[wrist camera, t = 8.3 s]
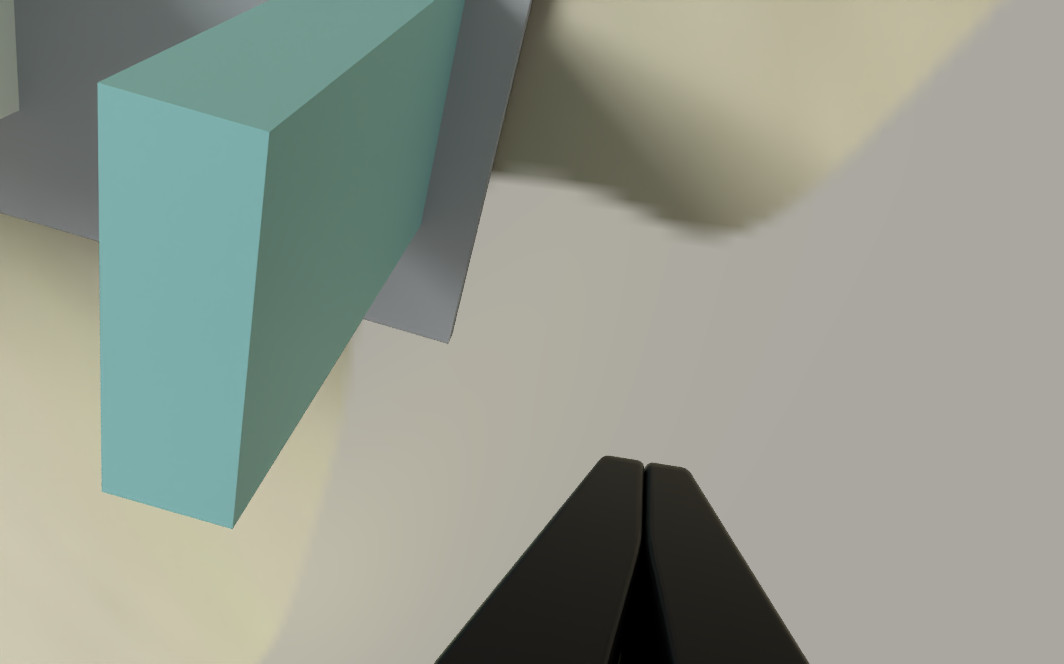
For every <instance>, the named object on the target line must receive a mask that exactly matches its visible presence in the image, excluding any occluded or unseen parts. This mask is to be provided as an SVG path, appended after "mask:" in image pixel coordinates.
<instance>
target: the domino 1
mask: <svg viewBox="0 0 1064 664" xmlns="http://www.w3.org/2000/svg"><path fill="white" fill-rule="evenodd" d="M17 111H19V92H18V73H17V53H16V34H15V15H14V0H0V119H2V118H4V117H6V116H8V115H11V114H13V113H15V112H17Z"/></svg>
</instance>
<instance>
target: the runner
mask: <svg viewBox="0 0 1064 664" xmlns="http://www.w3.org/2000/svg"><path fill="white" fill-rule="evenodd" d="M267 1H269V0H14V15H15V34H16V53H17V73H18V92H19V111H17V112H15V113H13V114H11V115H8V116H6V117H4V118H2V119H0V213H3V214H6V215H10V216H13V217H16V218H20V219H23V220H27V221H30V222H34V223H37V224H40V225H44V226H47V227H51V228H54V229H58V230H61V231H64V232H68V233H71V234H75V235H78V236H81V237H85V238H88V239H92V240H95V241H99V182H98V89H97V83H98V82H100V81H102V80H104V79H106V78H108V77H110V76H112V75H114V74H116V73H118V72H121V71H123V70H125V69H127V68H129V67H131V66H133V65H135V64H137V63H139V62H141V61H144V60H146V59H148V58H150V57H152V56H154V55H156V54H158V53H160V52H162V51H164V50H166V49H169V48H171V47H173V46H175V45H177V44H179V43H181V42H183V41H185V40H187V39H189V38H192V37H194V36H196V35H198V34H200V33H202V32H204V31H206V30H208V29H210V28H212V27H214V26H217V25H219V24H221V23H223V22H225V21H227V20H229V19H231V18H233V17H235V16H237V15H240V14H242V13H244V12H246V11H248V10H250V9H252V8H254V7H256V6H258V5H260V4H263V3H265V2H267ZM531 5H532V0H465V3H464V8H463V13H462V18H461V23H460V28H459V33H458V38H457V43H456V48H455V54H454V59H453V64H452V69H451V74H450V79H449V84H448V89H447V94H446V99H445V104H444V110H443V115H442V120H441V125H440V130H439V135H438V140H437V145H436V150H435V155H434V161H433V166H432V171H431V176H430V181H429V186H428V191H427V196H426V201H425V206H424V211H423V217H422V222H421V226H420V227H419V229H418V231H417V232H416V234H415V235H414V237H413V239H412V240H411V242H410V244H409V245H408V247H407V248H406V250H405V252H404V253H403V255H402V256H401V258H400V260H399V261H398V263H397V264H396V266H395V268H394V269H393V271H392V273H391V274H390V276H389V277H388V279H387V281H386V282H385V284H384V285H383V287H382V289H381V290H380V292H379V294H378V295H377V297H376V298H375V300H374V302H373V303H372V305H371V306H370V308H369V310H368V311H367V313H366V314H365V316H364V318H363V319H365V320H369V321H372V322H375V323H379V324H382V325H386V326H389V327H392V328H396V329H399V330H403V331H406V332H410V333H414V334H416V335H420V336H423V337H427V338H430V339H434V340H437V341H440V342H444V343H447V344H448V343H449V341H450V338H451V336H452V333H453V329H454V325H455V321H456V316H457V312H458V308H459V304H460V300H461V296H462V292H463V287H464V283H465V279H466V275H467V271H468V266H469V262H470V258H471V254H472V250H473V246H474V242H475V237H476V233H477V229H478V225H479V221H480V216H481V212H482V208H483V204H484V200H485V196H486V192H487V188H488V183H489V179H490V175H491V171H492V167H493V163H494V158H495V154H496V150H497V146H498V142H499V138H500V134H501V129H502V125H503V121H504V117H505V113H506V109H507V104H508V100H509V96H510V92H511V88H512V84H513V79H514V75H515V71H516V67H517V63H518V59H519V55H520V50H521V46H522V42H523V38H524V34H525V30H526V25H527V21H528V17H529V13H530V9H531Z"/></svg>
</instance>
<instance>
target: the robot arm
mask: <svg viewBox="0 0 1064 664" xmlns="http://www.w3.org/2000/svg"><path fill="white" fill-rule="evenodd" d="M434 664H809V663H808V661H807V659H806V658H805V656H804V654H803V653H802V651H801V650H800V648H799V647H798V645H797V643H796V642H795V640H794V638H793V637H792V635H791V634H790V632H789V630H788V629H787V627H786V625H785V624H784V622H783V621H782V619H781V617H780V616H779V614H778V613H777V611H776V609H775V608H774V606H773V605H772V603H771V602H770V600H769V598H768V597H767V595H766V593H765V592H764V590H763V589H762V587H761V585H760V584H759V582H758V580H757V579H756V577H755V576H754V574H753V572H752V571H751V569H750V568H749V566H748V565H747V563H746V561H745V560H744V558H743V557H742V555H741V553H740V552H739V550H738V548H737V547H736V545H735V544H734V542H733V541H732V539H731V537H730V536H729V534H728V532H727V531H726V530H725V527H724V526H723V524H722V523H721V521H720V519H719V518H718V516H717V515H716V513H715V511H714V510H713V508H712V507H711V505H710V503H709V502H708V500H707V499H706V497H705V495H704V494H703V492H702V491H701V489H700V487H699V486H698V484H697V483H696V481H695V479H694V478H693V476H692V475H691V473H690V472H689V471H688V470H686V469H685V468H682V467H676V466H670V465H663V464H658V463H650V464H647V466H646V467H645V469H644V466H643V463H641V462H640V461H638V460H632V459H626V458H620V457H614V456H604V457H602V458H601V459H600V460H599V461H598V462H597V464H596V465H595V466H594V467H593V469H592V470H591V471H590V472H589V473H588V475H587V476H586V477H585V478H584V480H583V481H582V482H581V483H580V485H579V486H578V487H577V488H576V489H575V491H574V492H573V493H572V494H571V496H570V497H569V498H568V499H567V500H566V502H565V503H564V504H563V505H562V507H561V508H560V509H559V510H558V512H557V513H556V514H555V515H554V516H553V518H552V519H551V520H550V521H549V523H548V524H547V525H546V526H545V528H544V529H543V530H542V531H541V532H540V534H539V535H538V536H537V538H536V539H535V540H534V541H533V542H532V544H531V545H530V546H529V547H528V548H527V550H526V551H525V552H524V553H523V555H522V556H521V557H520V558H519V560H518V561H517V562H516V563H515V564H514V566H513V567H512V568H511V569H510V571H509V572H508V573H507V574H506V575H505V577H504V578H503V579H502V580H501V582H500V583H499V584H498V585H497V586H496V588H495V589H494V590H493V591H492V593H491V594H490V595H489V596H488V598H487V599H486V600H485V601H484V602H483V604H482V605H481V606H480V607H479V609H478V610H477V611H476V612H475V613H474V615H473V616H472V617H471V618H470V620H469V621H468V622H467V623H466V624H465V626H464V627H463V628H462V629H461V631H460V632H459V633H458V634H457V636H456V637H455V638H454V639H453V640H452V642H451V643H450V644H449V645H448V647H447V648H446V649H445V650H444V652H443V653H442V654H441V655H440V656H439V658H438V659H437V660H436V661H435V663H434Z"/></svg>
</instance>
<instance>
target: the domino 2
mask: <svg viewBox="0 0 1064 664" xmlns="http://www.w3.org/2000/svg"><path fill="white" fill-rule="evenodd" d="M464 3H465V0H269V1H267V2H265V3H263V4H260V5H258V6H256V7H254V8H252V9H250V10H248V11H246V12H244V13H242V14H240V15H237V16H235V17H233V18H231V19H229V20H227V21H225V22H223V23H221V24H219V25H217V26H214V27H212V28H210V29H208V30H206V31H204V32H202V33H200V34H198V35H196V36H194V37H192V38H189V39H187V40H185V41H183V42H181V43H179V44H177V45H175V46H173V47H171V48H169V49H166V50H164V51H162V52H160V53H158V54H156V55H154V56H152V57H150V58H148V59H146V60H144V61H141V62H139V63H137V64H135V65H133V66H131V67H129V68H127V69H125V70H123V71H121V72H118V73H116V74H114V75H112V76H110V77H108V78H106V79H104V80H102V81H100V82H98V83H97V89H98V182H99V274H100V367H101V459H102V492H105V493H108V494H112V495H115V496H119V497H122V498H126V499H129V500H133V501H136V502H140V503H143V504H147V505H150V506H154V507H157V508H161V509H164V510H168V511H171V512H175V513H178V514H182V515H185V516H189V517H192V518H196V519H199V520H203V521H206V522H210V523H213V524H217V525H220V526H224V527H227V528H231V529H233V527H234V526H235V524H236V522H237V521H238V519H239V518H240V516H241V514H242V513H243V511H244V510H245V508H246V506H247V505H248V503H249V501H250V500H251V498H252V497H253V495H254V493H255V492H256V490H257V489H258V487H259V485H260V484H261V482H262V481H263V479H264V477H265V476H266V474H267V472H268V471H269V469H270V468H271V466H272V464H273V463H274V461H275V460H276V458H277V456H278V455H279V453H280V451H281V450H282V448H283V447H284V445H285V443H286V442H287V440H288V439H289V437H290V435H291V434H292V432H293V431H294V429H295V427H296V426H297V424H298V422H299V421H300V419H301V418H302V416H303V414H304V413H305V411H306V410H307V408H308V406H309V405H310V403H311V402H312V400H313V398H314V397H315V395H316V393H317V392H318V390H319V389H320V387H321V385H322V384H323V382H324V381H325V379H326V377H327V376H328V374H329V372H330V371H331V369H332V368H333V366H334V364H335V363H336V361H337V360H338V358H339V356H340V355H341V353H342V352H343V350H344V348H345V347H346V345H347V343H348V342H349V340H350V339H351V337H352V335H353V334H354V332H355V331H356V329H357V327H358V326H359V324H360V323H361V321H362V319H363V318H364V316H365V314H366V313H367V311H368V310H369V308H370V306H371V305H372V303H373V302H374V300H375V298H376V297H377V295H378V294H379V292H380V290H381V289H382V287H383V285H384V284H385V282H386V281H387V279H388V277H389V276H390V274H391V273H392V271H393V269H394V268H395V266H396V264H397V263H398V261H399V260H400V258H401V256H402V255H403V253H404V252H405V250H406V248H407V247H408V245H409V244H410V242H411V240H412V239H413V237H414V235H415V234H416V232H417V231H418V229H419V227H420V226H421V222H422V217H423V211H424V206H425V201H426V196H427V191H428V186H429V181H430V176H431V171H432V166H433V161H434V155H435V150H436V145H437V140H438V135H439V130H440V125H441V120H442V115H443V110H444V104H445V99H446V94H447V89H448V84H449V79H450V74H451V69H452V64H453V59H454V54H455V48H456V43H457V38H458V33H459V28H460V23H461V18H462V13H463V8H464Z"/></svg>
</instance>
